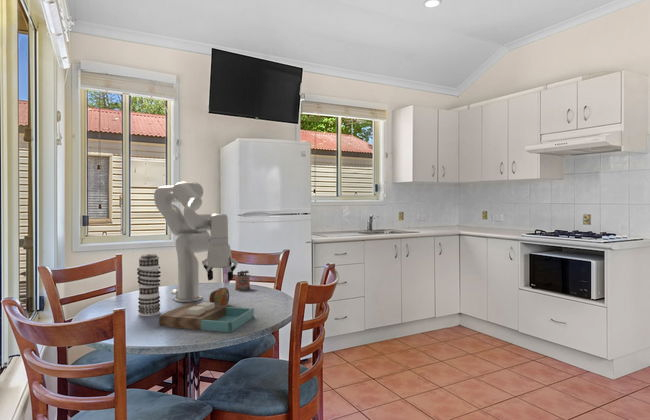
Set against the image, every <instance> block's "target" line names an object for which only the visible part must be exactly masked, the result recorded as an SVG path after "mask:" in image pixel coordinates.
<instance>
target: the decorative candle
mask: <svg viewBox="0 0 650 420" xmlns="http://www.w3.org/2000/svg"><path fill="white" fill-rule="evenodd" d="M159 258H160V257H159V256H158V255H157V254H156V253H145V254H142V255H141V256H140V257H139V258H138V268H136V271H137V272H136V273H137V275H138V276H137V280H138V281H137V284H138V286H137V287H138V288H139V291H138V298H137V300H138V306H137V308H138V309H137V311H138V316H140V317H152V316H153V317H154V316H157V315H160V313H161V311H160V310H161V303H160V302H161V300H160V298H161V295H160V288H159V287H160V285H161V283H160V282H161V279H159V278H161V275H160V274H161V273H162V272H161V270H160V269H161V266H160V264H159Z"/></svg>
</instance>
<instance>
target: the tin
mask: <svg viewBox="0 0 650 420" xmlns="http://www.w3.org/2000/svg"><path fill="white" fill-rule="evenodd" d="M228 289H229V288H227V287H219V288H217V289H216V290H214V291H212V292H210V295H209V297H208V298H209V302H212V303H215V305H224V306H228V304H229V301H230V292H229V290H228Z"/></svg>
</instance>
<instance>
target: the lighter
mask: <svg viewBox="0 0 650 420" xmlns="http://www.w3.org/2000/svg"><path fill="white" fill-rule="evenodd" d="M249 273H250V271H249V270H240V271H237V275H234V278H235V288H234V290H235V291H246V290H245V289H247V290H251V287H250V285H251V284H250V283H251V282H250V281H251V279H250V278H251V274H249Z"/></svg>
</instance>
